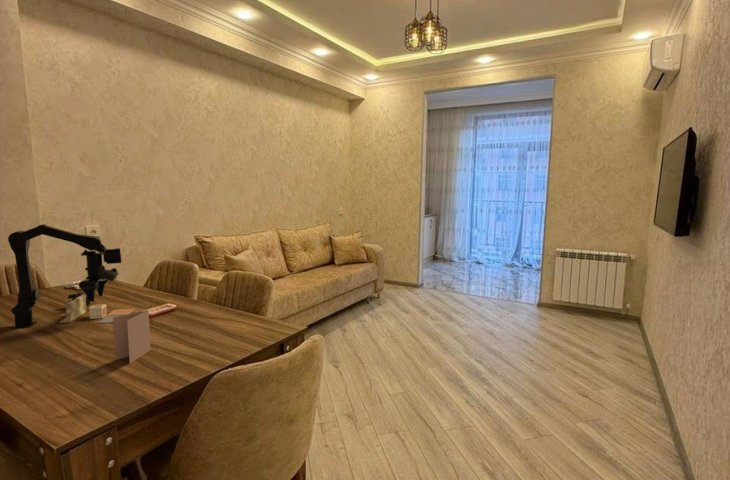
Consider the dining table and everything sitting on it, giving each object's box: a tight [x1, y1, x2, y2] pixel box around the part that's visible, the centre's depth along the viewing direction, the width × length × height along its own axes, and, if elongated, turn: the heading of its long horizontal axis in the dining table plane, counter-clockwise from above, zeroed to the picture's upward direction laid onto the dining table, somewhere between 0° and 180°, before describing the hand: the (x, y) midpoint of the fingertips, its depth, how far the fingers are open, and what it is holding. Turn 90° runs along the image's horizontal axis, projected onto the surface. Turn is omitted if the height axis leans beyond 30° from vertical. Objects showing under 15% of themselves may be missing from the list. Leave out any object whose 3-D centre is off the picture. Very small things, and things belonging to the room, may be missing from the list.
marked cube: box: [88, 303, 108, 320], centre depth 179 cm, size 5×5×5 cm
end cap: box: [67, 291, 91, 308], centre depth 192 cm, size 10×7×7 cm
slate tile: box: [97, 315, 123, 325], centre depth 176 cm, size 9×9×1 cm
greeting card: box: [112, 309, 152, 364], centre depth 137 cm, size 11×7×15 cm, turn 141°
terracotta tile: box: [106, 308, 136, 316], centre depth 185 cm, size 9×9×1 cm
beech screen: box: [59, 294, 88, 324], centre depth 178 cm, size 16×4×8 cm, turn 14°
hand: (96, 298), depth 178 cm, fingers open, 9 cm apart
